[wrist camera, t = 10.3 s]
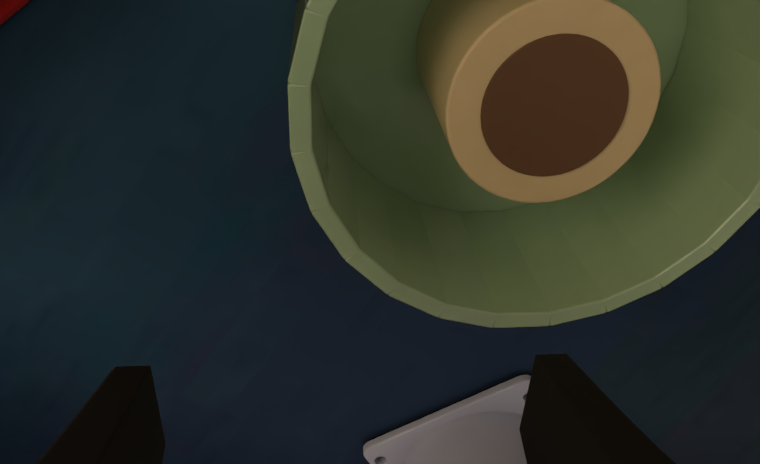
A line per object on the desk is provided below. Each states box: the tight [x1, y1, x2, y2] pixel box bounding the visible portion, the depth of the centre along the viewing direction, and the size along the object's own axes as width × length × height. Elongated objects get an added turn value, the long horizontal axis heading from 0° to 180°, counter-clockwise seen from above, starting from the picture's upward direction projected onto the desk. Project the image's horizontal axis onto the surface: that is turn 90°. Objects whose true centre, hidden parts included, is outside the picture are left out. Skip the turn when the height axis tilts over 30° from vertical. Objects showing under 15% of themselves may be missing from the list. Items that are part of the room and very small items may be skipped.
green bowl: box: [287, 0, 760, 328], centre depth 17 cm, size 12×12×6 cm
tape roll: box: [416, 0, 661, 203], centre depth 17 cm, size 5×5×5 cm
